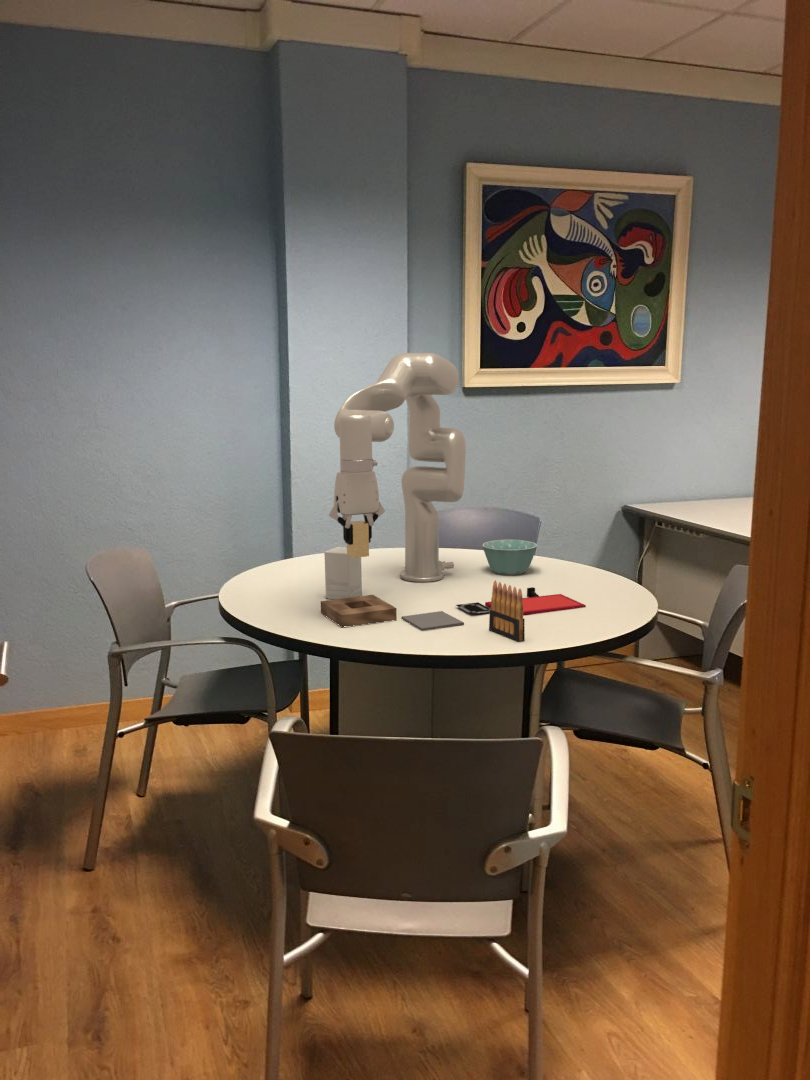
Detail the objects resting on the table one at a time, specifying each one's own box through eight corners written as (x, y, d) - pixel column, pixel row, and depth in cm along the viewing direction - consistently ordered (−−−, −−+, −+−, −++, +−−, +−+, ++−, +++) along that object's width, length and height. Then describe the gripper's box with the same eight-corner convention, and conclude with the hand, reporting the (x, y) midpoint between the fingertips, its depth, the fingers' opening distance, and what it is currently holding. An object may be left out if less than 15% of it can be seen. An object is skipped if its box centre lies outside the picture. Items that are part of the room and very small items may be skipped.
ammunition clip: (488, 630, 213) (489, 579, 210) (495, 629, 214) (495, 578, 211) (518, 642, 204) (519, 589, 201) (524, 641, 205) (526, 588, 202)
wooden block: (362, 552, 224) (361, 520, 222) (369, 556, 220) (368, 523, 219) (347, 554, 222) (346, 522, 221) (353, 558, 219) (352, 524, 217)
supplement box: (362, 595, 244) (362, 548, 242) (349, 601, 238) (348, 553, 235) (338, 592, 247) (337, 545, 245) (324, 598, 241) (323, 551, 238)
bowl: (471, 572, 269) (471, 544, 267) (502, 563, 281) (502, 536, 279) (516, 580, 259) (516, 552, 257) (546, 571, 271) (547, 543, 269)
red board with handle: (451, 606, 233) (480, 623, 220) (452, 595, 233) (480, 611, 219) (552, 595, 245) (585, 610, 232) (552, 585, 245) (586, 599, 231)
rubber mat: (441, 613, 227) (441, 611, 226) (463, 624, 217) (463, 622, 217) (401, 618, 222) (401, 616, 222) (422, 630, 212) (422, 628, 212)
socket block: (372, 606, 233) (372, 594, 233) (396, 620, 221) (396, 608, 220) (320, 612, 227) (320, 601, 227) (342, 627, 215) (341, 615, 214)
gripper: (382, 462, 224) (383, 536, 228) (317, 466, 217) (319, 543, 220) (395, 465, 217) (396, 542, 221) (328, 470, 210) (330, 549, 214)
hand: (357, 541), depth 221 cm, fingers closed on wooden block, 4 cm apart
